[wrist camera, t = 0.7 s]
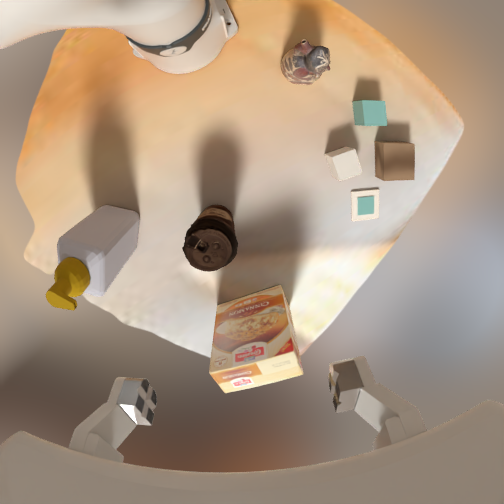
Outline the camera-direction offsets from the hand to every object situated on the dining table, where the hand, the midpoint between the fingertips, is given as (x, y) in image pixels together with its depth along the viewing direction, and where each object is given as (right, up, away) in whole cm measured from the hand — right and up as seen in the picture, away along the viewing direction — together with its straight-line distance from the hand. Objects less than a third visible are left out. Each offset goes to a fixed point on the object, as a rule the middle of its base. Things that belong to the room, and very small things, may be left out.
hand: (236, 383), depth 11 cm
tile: (+23, +15, +40) cm, 48 cm away
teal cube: (+21, +31, +32) cm, 49 cm away
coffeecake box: (+1, -6, +50) cm, 50 cm away
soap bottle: (-26, +11, +40) cm, 49 cm away
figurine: (+9, +37, +28) cm, 48 cm away
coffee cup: (-6, +12, +40) cm, 43 cm away
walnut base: (+27, +24, +36) cm, 51 cm away
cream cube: (+17, +22, +36) cm, 45 cm away
